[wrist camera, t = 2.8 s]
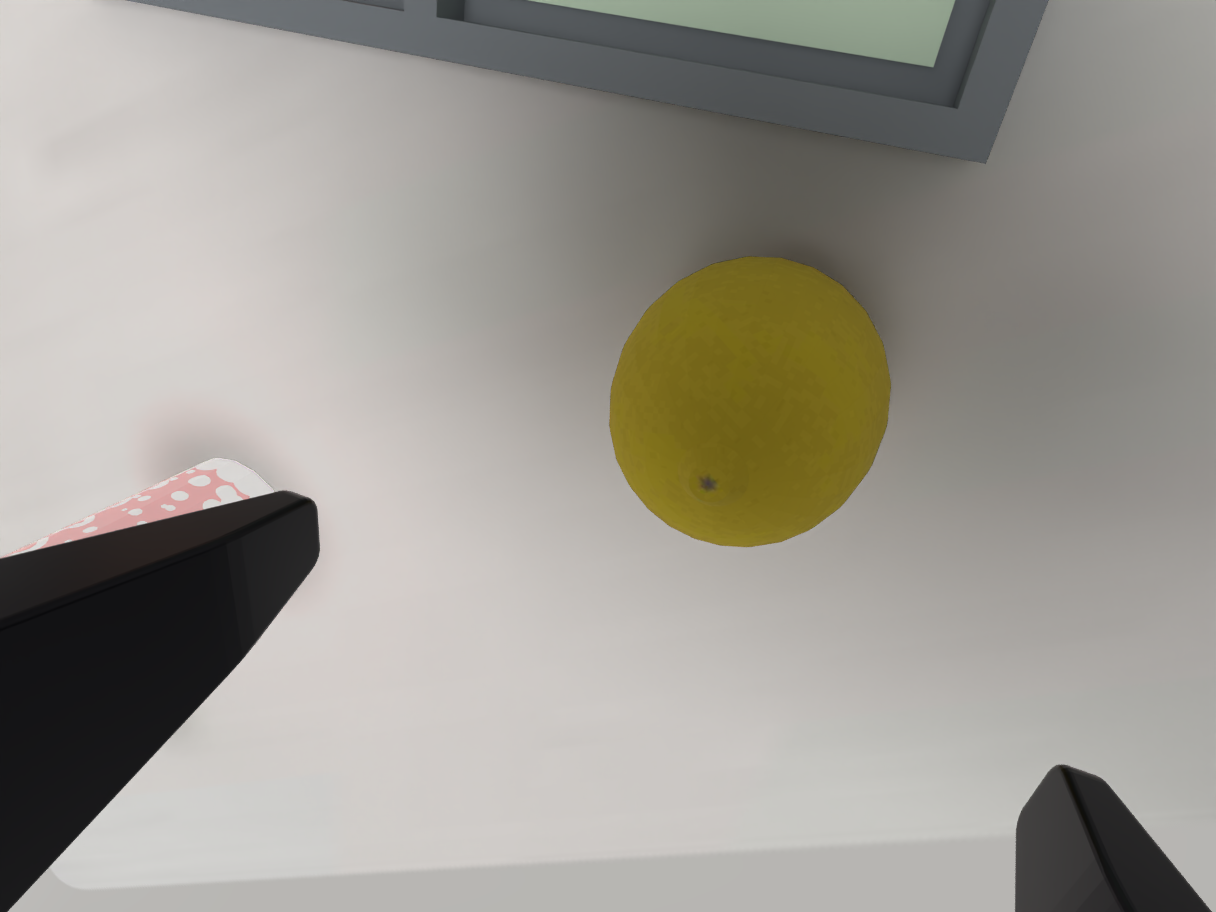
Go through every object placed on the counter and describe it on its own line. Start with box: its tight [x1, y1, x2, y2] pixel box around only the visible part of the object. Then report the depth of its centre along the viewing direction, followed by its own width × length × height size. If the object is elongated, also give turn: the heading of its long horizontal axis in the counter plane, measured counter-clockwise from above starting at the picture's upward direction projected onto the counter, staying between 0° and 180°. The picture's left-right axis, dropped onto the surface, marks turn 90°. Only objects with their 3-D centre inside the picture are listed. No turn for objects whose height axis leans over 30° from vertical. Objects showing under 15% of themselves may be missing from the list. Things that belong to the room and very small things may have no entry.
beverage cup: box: [1, 458, 274, 558], centre depth 23 cm, size 6×6×14 cm
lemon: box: [609, 256, 891, 547], centre depth 15 cm, size 6×6×8 cm
